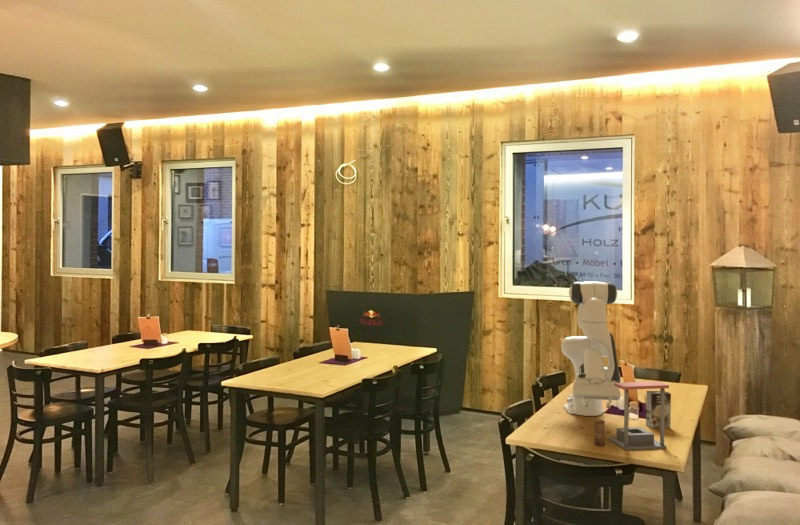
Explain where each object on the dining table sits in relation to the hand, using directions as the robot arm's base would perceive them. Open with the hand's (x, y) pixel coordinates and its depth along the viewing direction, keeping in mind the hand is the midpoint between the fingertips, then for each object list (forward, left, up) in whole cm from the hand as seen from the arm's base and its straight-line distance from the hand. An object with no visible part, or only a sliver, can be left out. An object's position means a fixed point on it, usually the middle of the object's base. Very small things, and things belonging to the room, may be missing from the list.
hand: (597, 406), depth 266 cm
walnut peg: (+7, -3, -14) cm, 16 cm away
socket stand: (+9, +13, -14) cm, 21 cm away
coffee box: (-15, +37, -14) cm, 43 cm away
